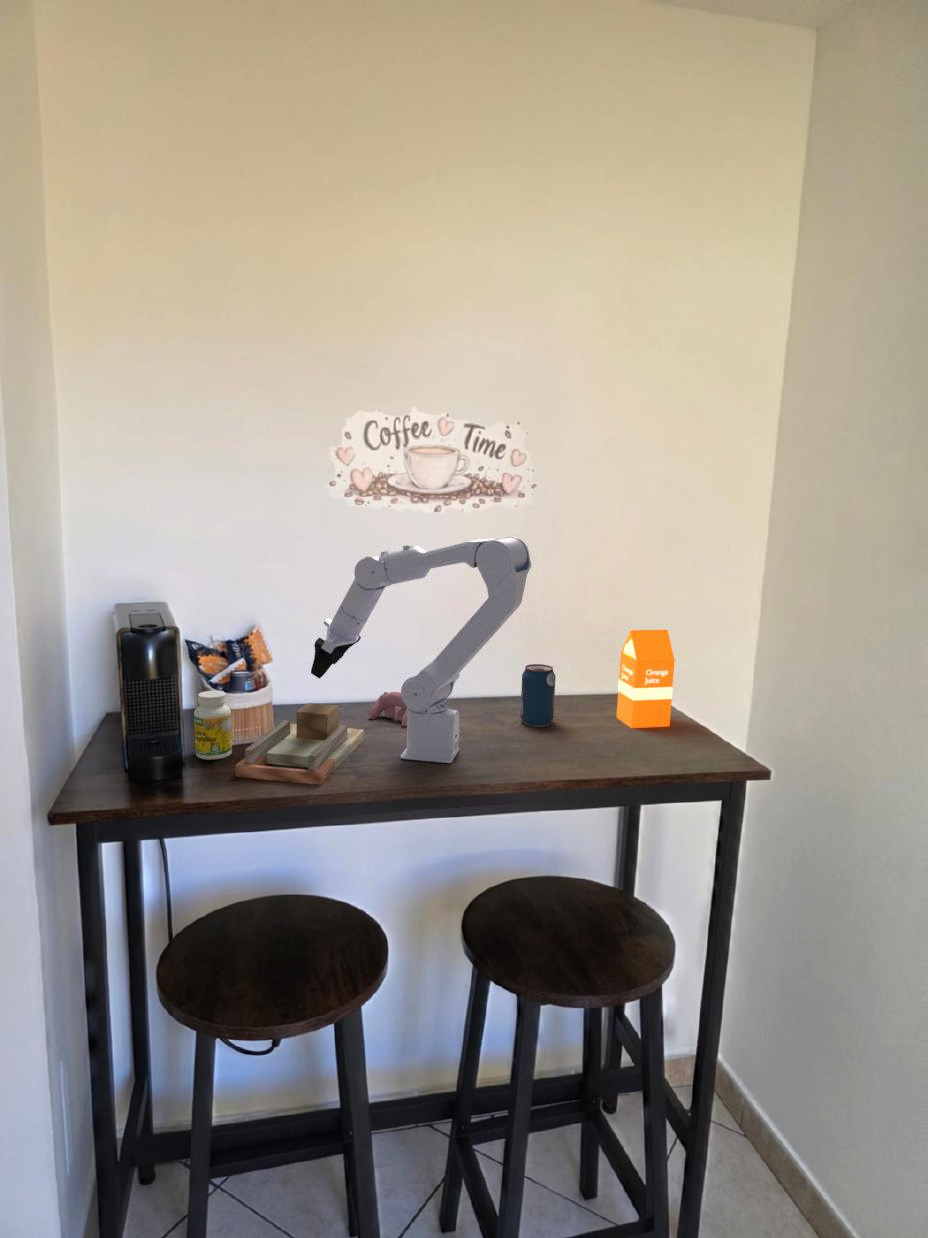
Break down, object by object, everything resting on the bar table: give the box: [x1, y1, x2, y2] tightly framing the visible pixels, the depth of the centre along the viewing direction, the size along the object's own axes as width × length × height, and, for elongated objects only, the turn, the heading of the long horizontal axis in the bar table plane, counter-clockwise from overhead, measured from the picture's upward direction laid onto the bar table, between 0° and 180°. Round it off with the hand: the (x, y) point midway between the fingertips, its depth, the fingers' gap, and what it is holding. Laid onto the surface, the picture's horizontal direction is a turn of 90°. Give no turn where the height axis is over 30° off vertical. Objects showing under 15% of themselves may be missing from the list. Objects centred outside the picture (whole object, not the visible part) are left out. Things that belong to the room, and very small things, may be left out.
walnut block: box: [295, 702, 339, 740], centre depth 156 cm, size 6×6×5 cm
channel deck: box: [234, 720, 365, 786], centre depth 149 cm, size 15×24×4 cm, turn 170°
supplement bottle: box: [193, 690, 233, 761], centre depth 148 cm, size 6×6×11 cm
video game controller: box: [369, 691, 407, 727], centre depth 173 cm, size 10×5×7 cm, turn 58°
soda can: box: [519, 663, 556, 728], centre depth 173 cm, size 7×7×12 cm
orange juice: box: [616, 629, 676, 729], centre depth 175 cm, size 8×9×20 cm
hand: (323, 668), depth 159 cm, fingers open, 7 cm apart
